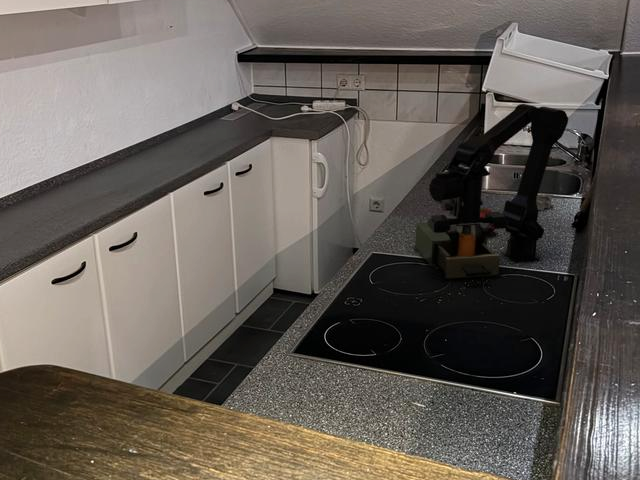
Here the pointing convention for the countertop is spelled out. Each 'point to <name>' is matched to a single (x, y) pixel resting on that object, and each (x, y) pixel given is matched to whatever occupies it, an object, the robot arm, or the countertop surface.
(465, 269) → the drawer
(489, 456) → the countertop surface
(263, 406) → the countertop surface
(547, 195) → the egg carton
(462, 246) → the bottle
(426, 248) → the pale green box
